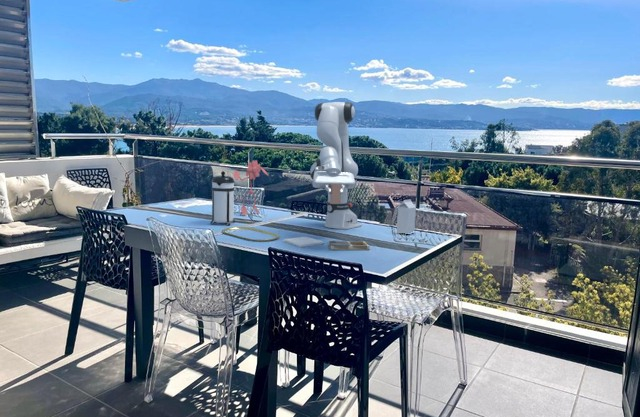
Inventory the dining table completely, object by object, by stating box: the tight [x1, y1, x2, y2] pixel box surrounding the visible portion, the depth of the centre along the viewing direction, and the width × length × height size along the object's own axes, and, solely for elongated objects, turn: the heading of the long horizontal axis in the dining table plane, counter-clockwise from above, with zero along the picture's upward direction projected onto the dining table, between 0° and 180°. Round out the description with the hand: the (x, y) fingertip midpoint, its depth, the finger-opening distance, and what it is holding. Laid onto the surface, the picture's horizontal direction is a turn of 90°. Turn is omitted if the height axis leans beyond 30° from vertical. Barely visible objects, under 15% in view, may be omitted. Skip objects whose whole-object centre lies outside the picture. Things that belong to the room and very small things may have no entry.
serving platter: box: [222, 226, 280, 242], centre depth 255 cm, size 19×35×2 cm, turn 48°
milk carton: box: [396, 198, 417, 234], centre depth 272 cm, size 7×7×19 cm
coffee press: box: [210, 171, 236, 226], centre depth 281 cm, size 17×16×30 cm
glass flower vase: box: [233, 160, 269, 218], centre depth 310 cm, size 15×26×35 cm, turn 140°
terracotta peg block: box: [330, 184, 341, 204], centre depth 229 cm, size 4×4×9 cm
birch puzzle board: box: [327, 240, 370, 251], centre depth 235 cm, size 9×18×3 cm, turn 99°
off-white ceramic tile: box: [282, 236, 324, 248], centre depth 242 cm, size 14×14×1 cm
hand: (335, 193), depth 229 cm, fingers closed on terracotta peg block, 4 cm apart
